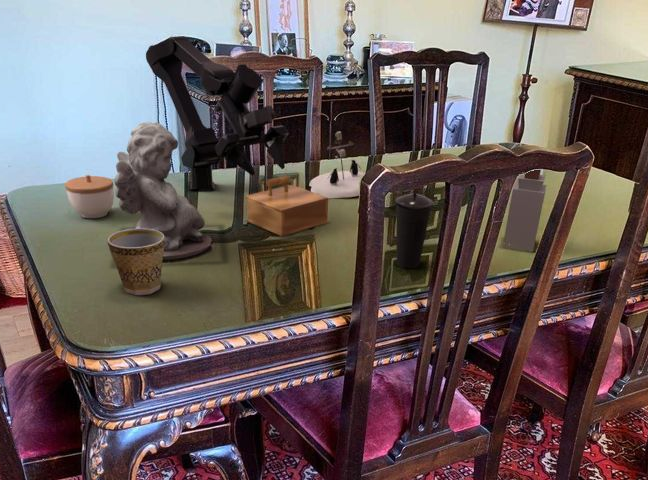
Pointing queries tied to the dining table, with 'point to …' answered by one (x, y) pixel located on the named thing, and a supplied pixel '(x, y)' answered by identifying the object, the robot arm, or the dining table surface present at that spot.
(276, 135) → the robot arm
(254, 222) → the chest
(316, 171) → the dining table surface
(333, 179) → the figurine
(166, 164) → the angel statue
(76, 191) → the trinket box
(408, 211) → the drinking cup
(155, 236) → the ceramic cup
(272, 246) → the dining table surface
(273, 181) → the lid
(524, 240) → the perfume bottle
